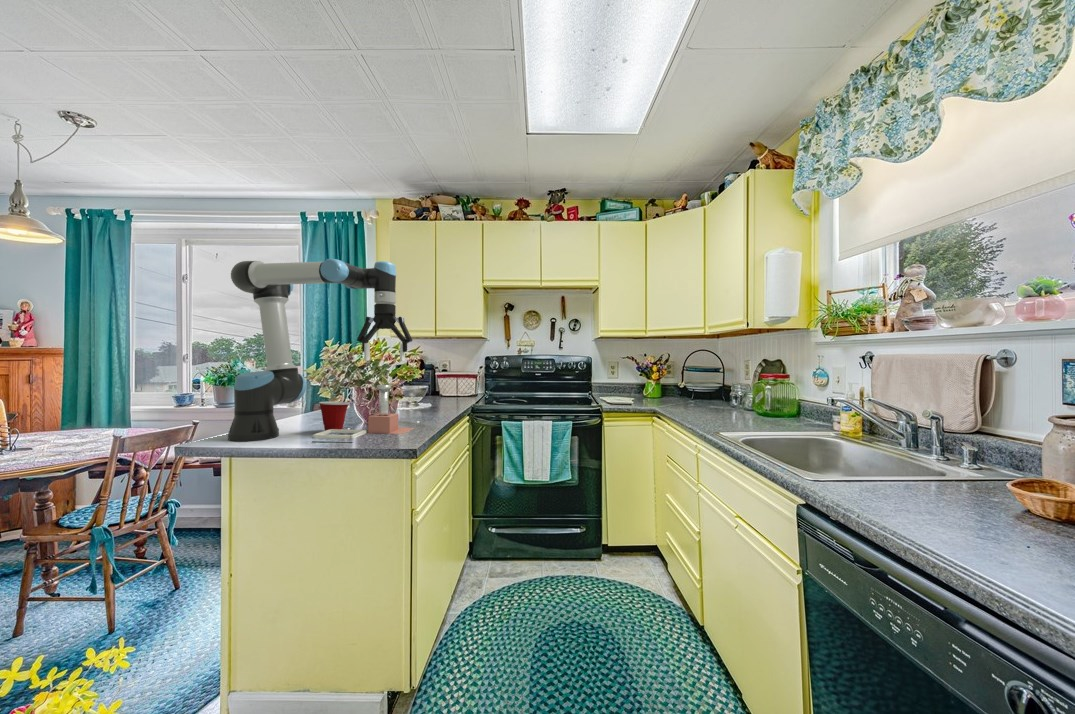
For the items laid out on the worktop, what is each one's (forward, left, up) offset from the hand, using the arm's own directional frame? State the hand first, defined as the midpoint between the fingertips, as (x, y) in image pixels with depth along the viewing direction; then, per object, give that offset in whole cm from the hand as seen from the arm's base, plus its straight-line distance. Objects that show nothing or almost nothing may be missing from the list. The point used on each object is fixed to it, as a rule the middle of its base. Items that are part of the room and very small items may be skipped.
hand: (384, 360), depth 158 cm
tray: (-12, -9, -28) cm, 32 cm away
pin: (0, 0, -26) cm, 26 cm away
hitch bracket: (+2, +2, -28) cm, 28 cm away
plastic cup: (-21, +3, -28) cm, 35 cm away
